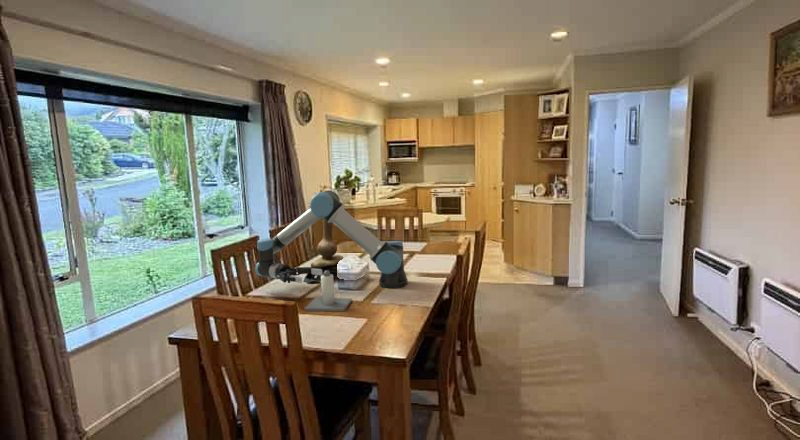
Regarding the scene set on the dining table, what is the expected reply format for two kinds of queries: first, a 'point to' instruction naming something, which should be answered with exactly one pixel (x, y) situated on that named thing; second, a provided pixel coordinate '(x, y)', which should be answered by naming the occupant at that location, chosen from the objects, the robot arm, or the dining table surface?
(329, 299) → the white bottle
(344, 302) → the slate board
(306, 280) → the vase
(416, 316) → the dining table surface
